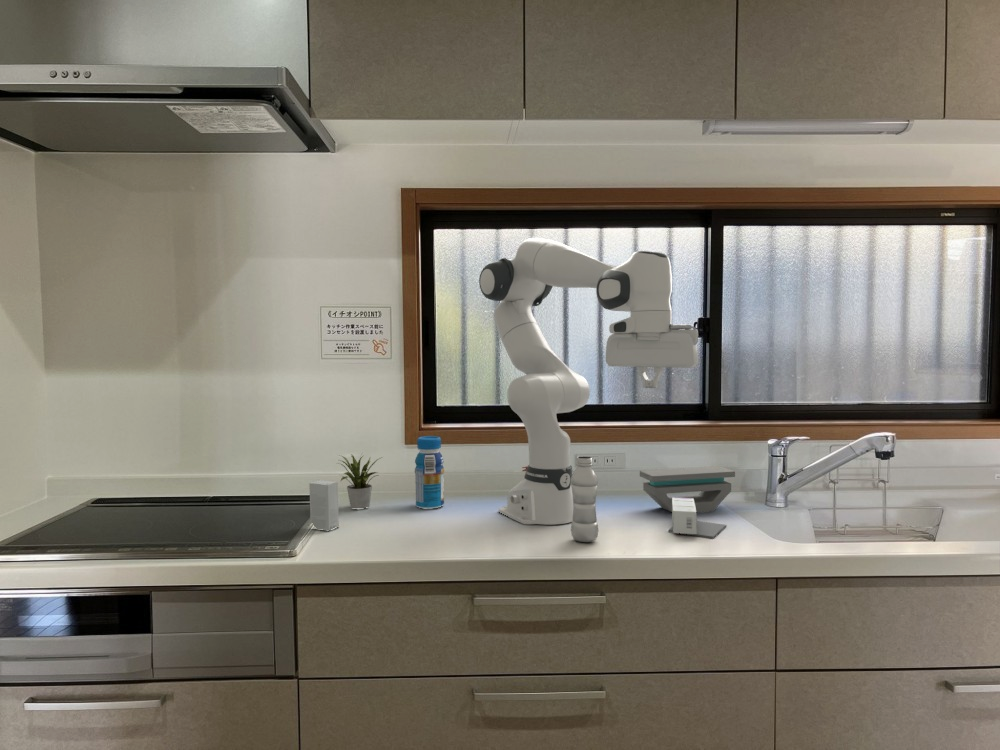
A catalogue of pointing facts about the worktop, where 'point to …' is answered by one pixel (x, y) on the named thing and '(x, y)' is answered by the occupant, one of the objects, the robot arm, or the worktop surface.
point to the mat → (706, 529)
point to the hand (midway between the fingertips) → (650, 387)
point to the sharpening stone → (689, 485)
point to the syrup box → (684, 516)
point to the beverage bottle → (429, 473)
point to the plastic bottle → (584, 501)
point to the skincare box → (324, 504)
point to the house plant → (358, 483)
